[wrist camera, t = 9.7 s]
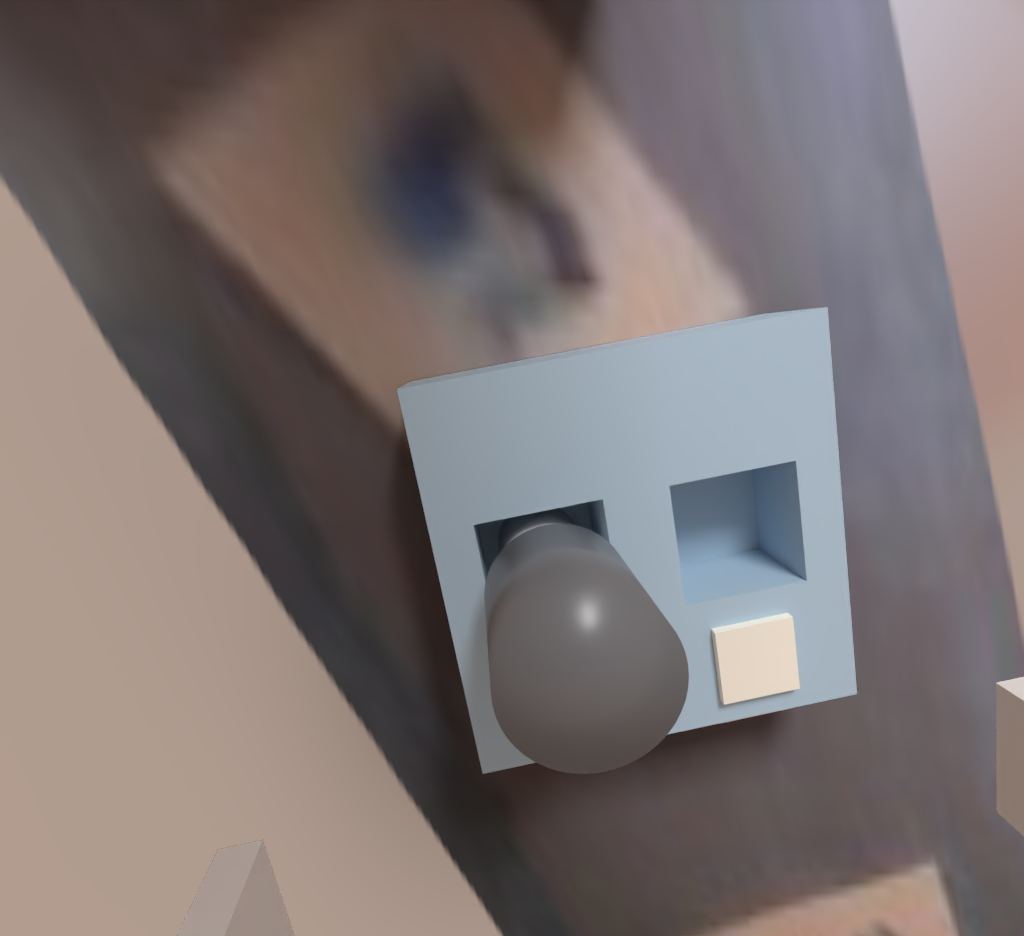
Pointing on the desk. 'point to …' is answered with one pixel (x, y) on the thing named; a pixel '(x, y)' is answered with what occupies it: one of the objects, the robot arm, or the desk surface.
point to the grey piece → (577, 649)
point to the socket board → (658, 500)
